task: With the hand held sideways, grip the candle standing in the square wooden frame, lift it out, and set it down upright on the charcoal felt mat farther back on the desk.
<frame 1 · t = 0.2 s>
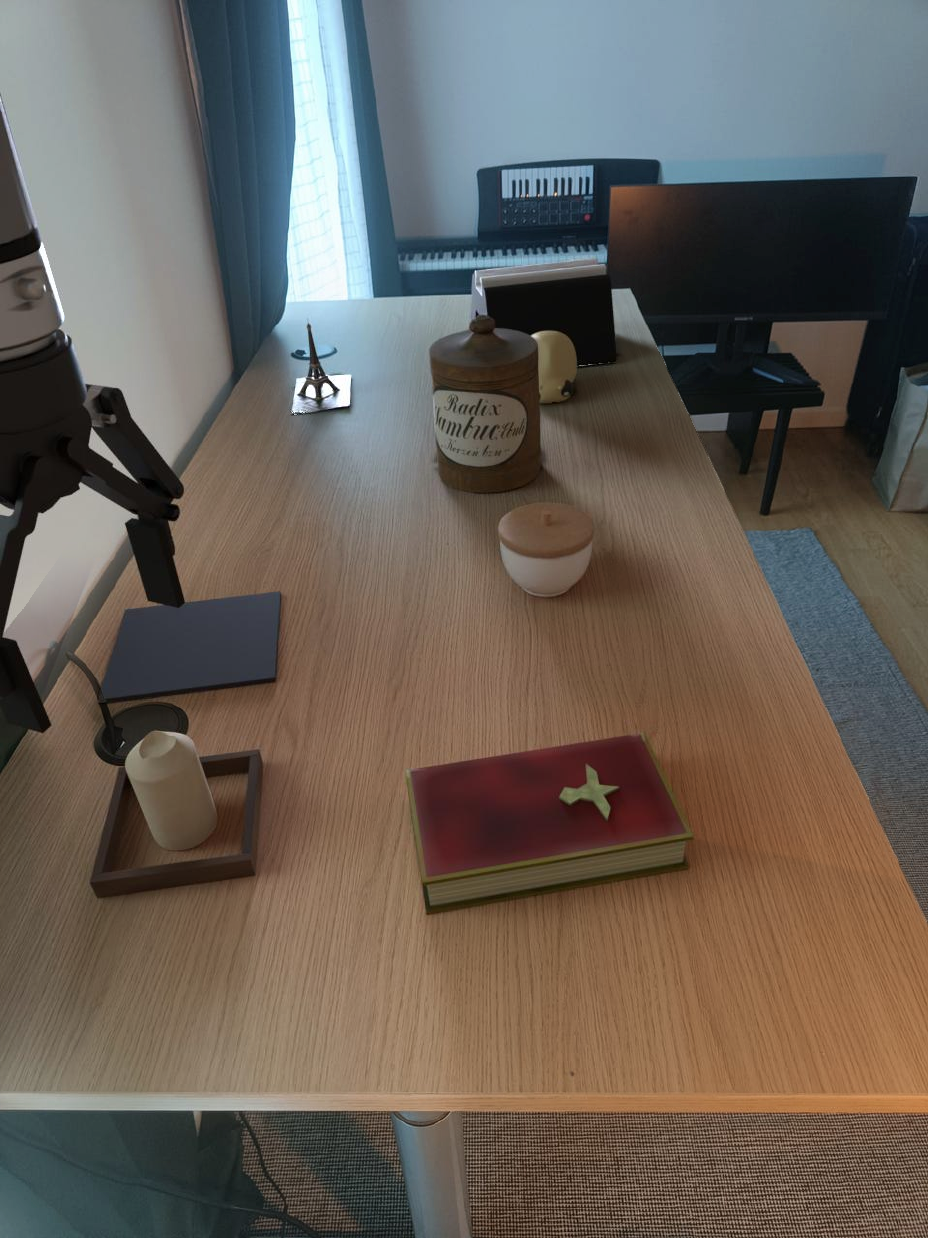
hand: (104, 658, 58), 22 cm above the table, tool pointing down, fingers open, 13 cm apart
device stand: (540, 351, 164), on the table
wooden container: (489, 470, 126), on the table
square wooden frame: (186, 826, 75), on the table
eiffel tower figurine: (322, 396, 152), on the table
felt mat: (196, 645, 96), on the table
hardcover book: (541, 833, 73), on the table
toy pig: (547, 395, 147), on the table
candle: (186, 827, 75), resting in square wooden frame
trinket box: (545, 583, 102), on the table
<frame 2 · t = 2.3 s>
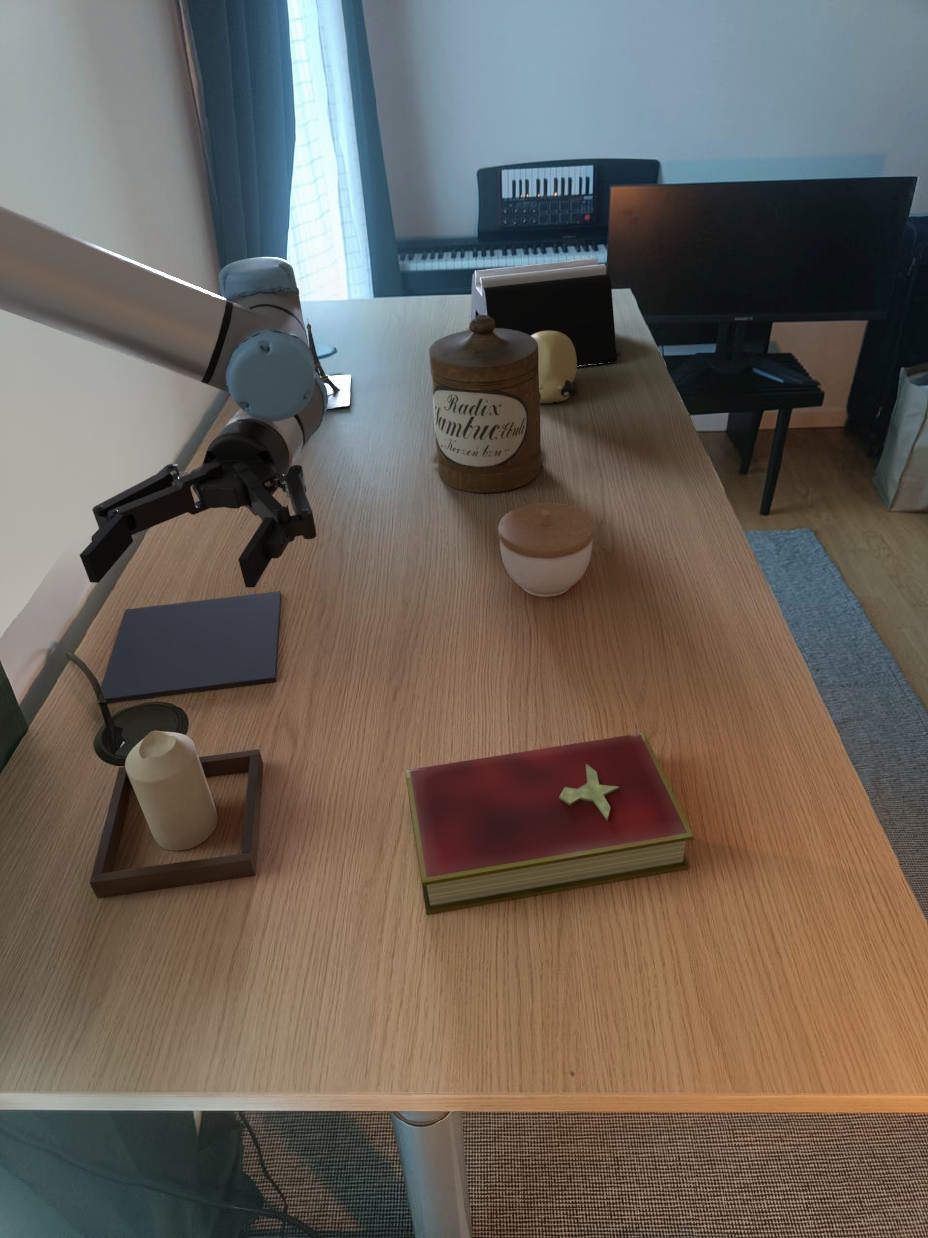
hand: (166, 571, 70), 20 cm above the table, tool horizontal, fingers open, 13 cm apart
nothing on the table moved.
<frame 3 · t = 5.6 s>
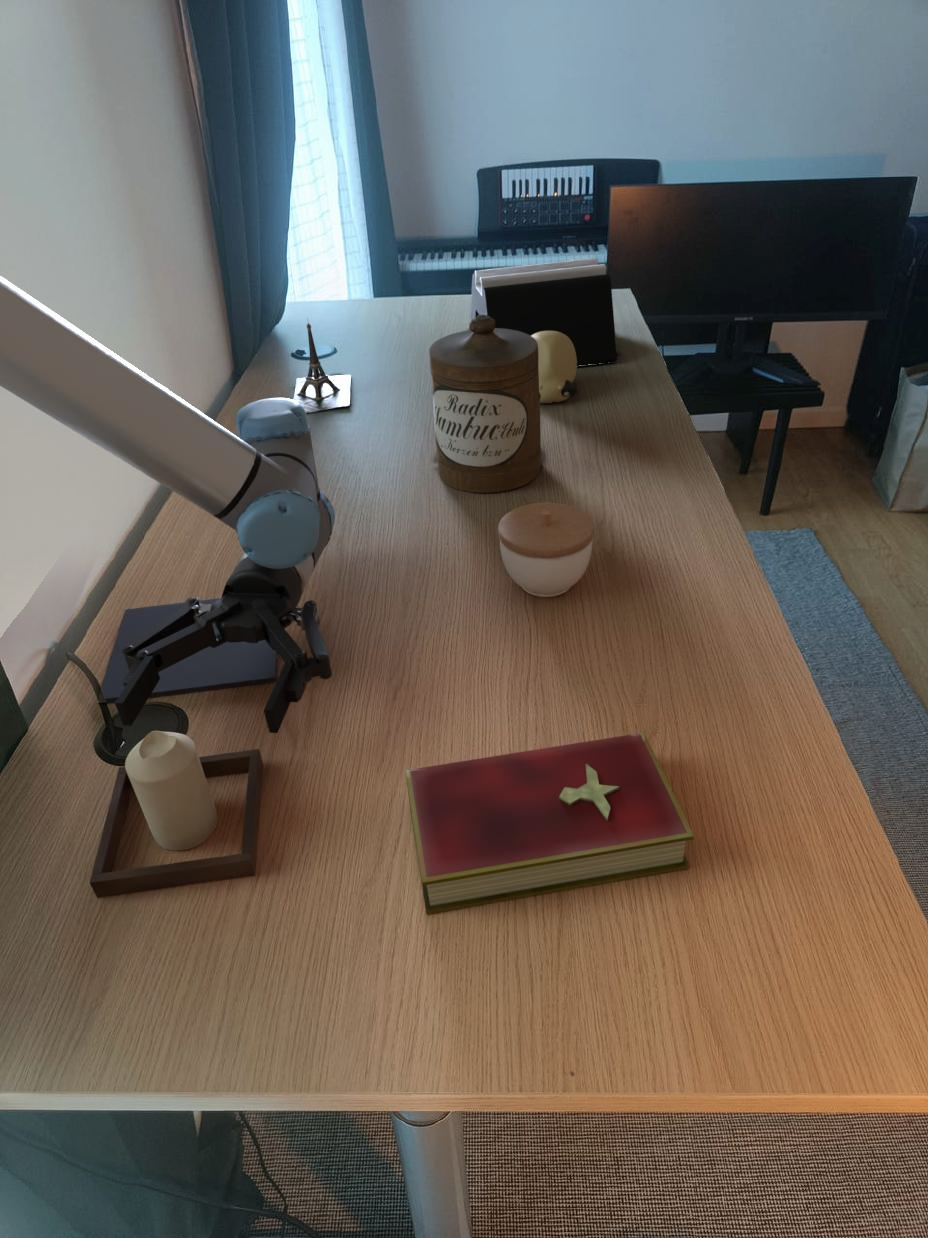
hand: (195, 718, 76), 7 cm above the table, tool horizontal, fingers open, 13 cm apart
nothing on the table moved.
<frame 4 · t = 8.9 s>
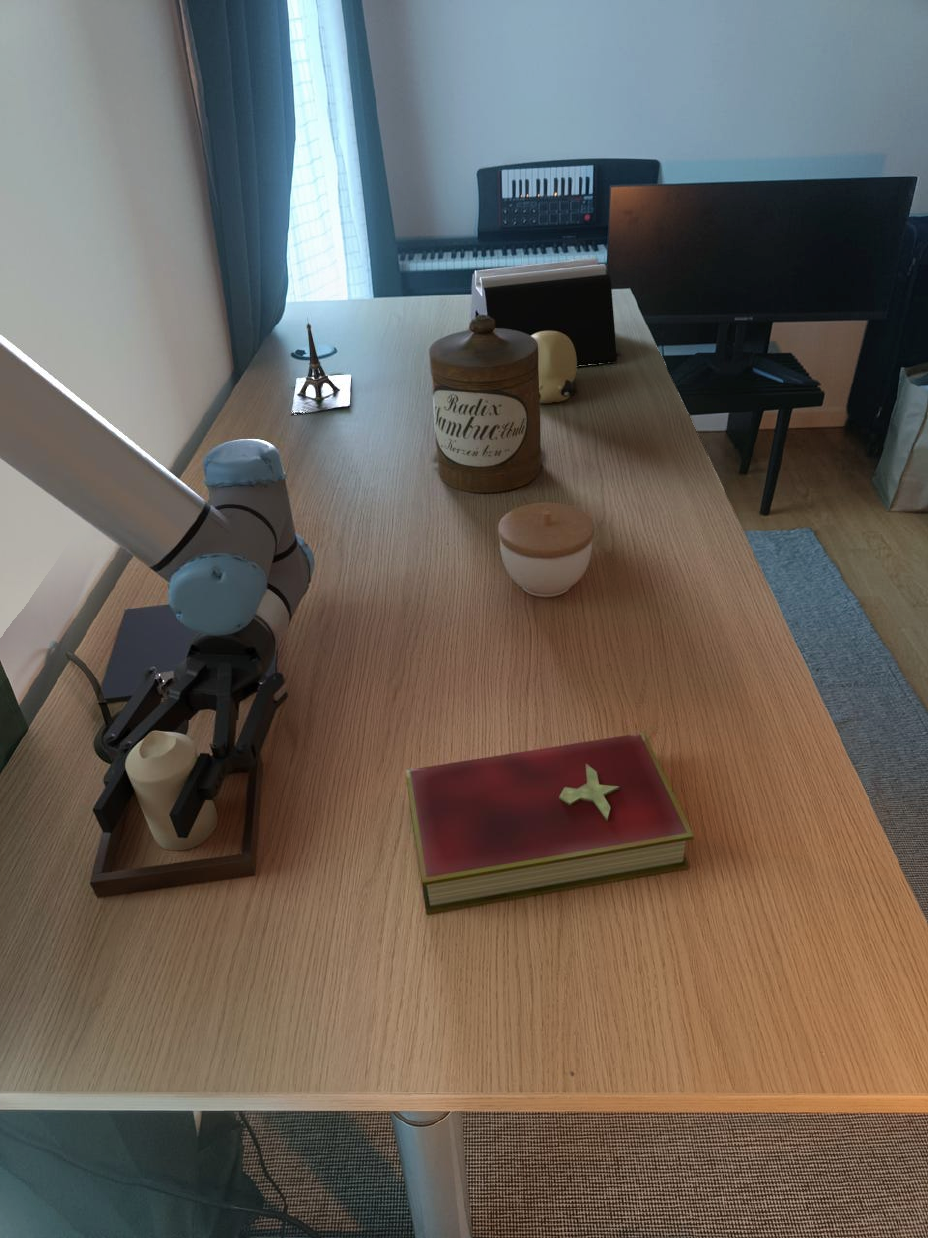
hand: (140, 823, 67), 6 cm above the table, tool horizontal, fingers closed on candle, 5 cm apart
candle: (186, 827, 75), resting in square wooden frame, touching gripper
everything else where it was.
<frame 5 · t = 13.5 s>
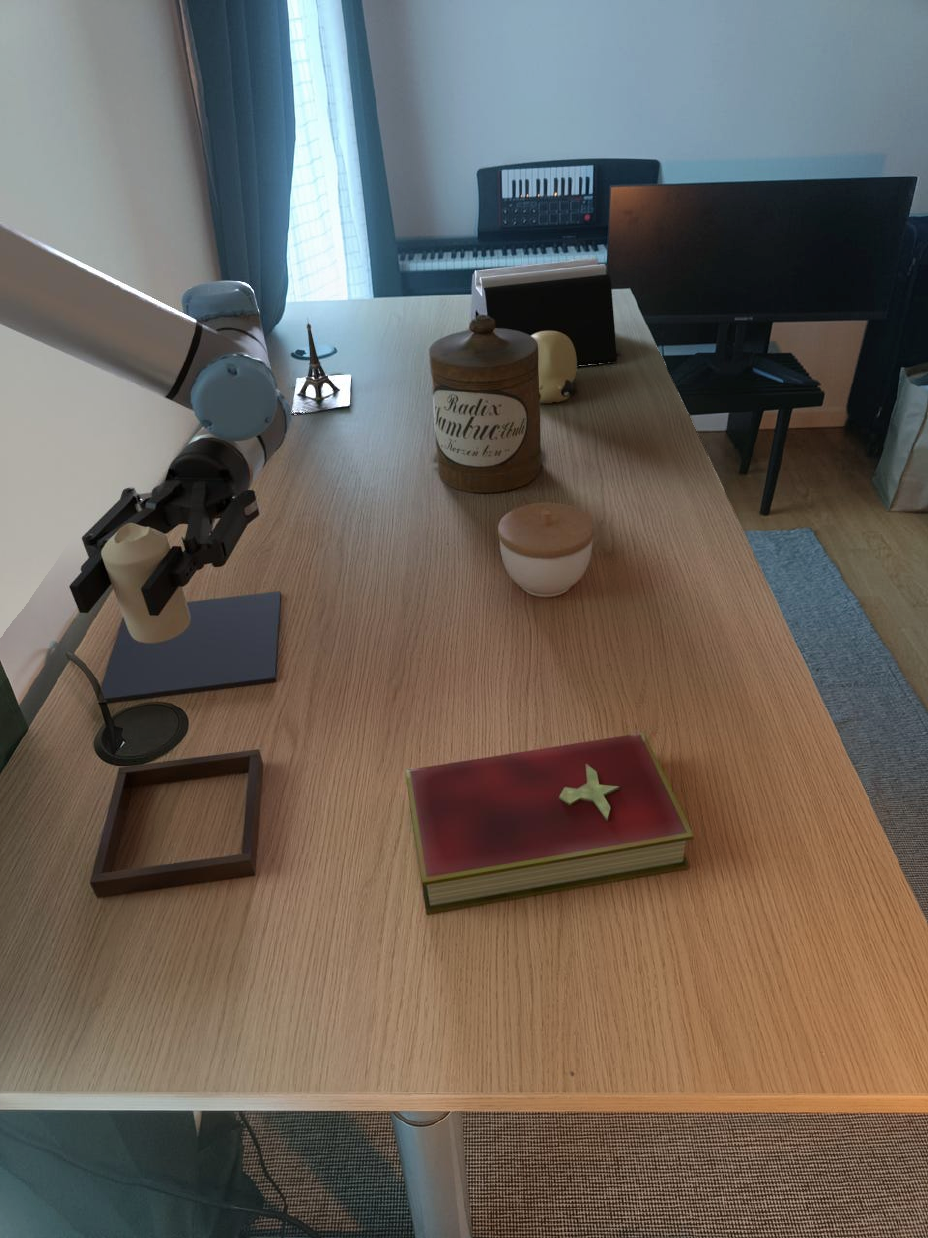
hand: (114, 600, 71), 18 cm above the table, tool horizontal, fingers closed on candle, 5 cm apart
candle: (161, 627, 79), point 11 cm above the table, touching gripper
everything else where it was.
when the fingers open (7 cm above the table, at t = 18.5 s): candle stays where it is, resting on felt mat.
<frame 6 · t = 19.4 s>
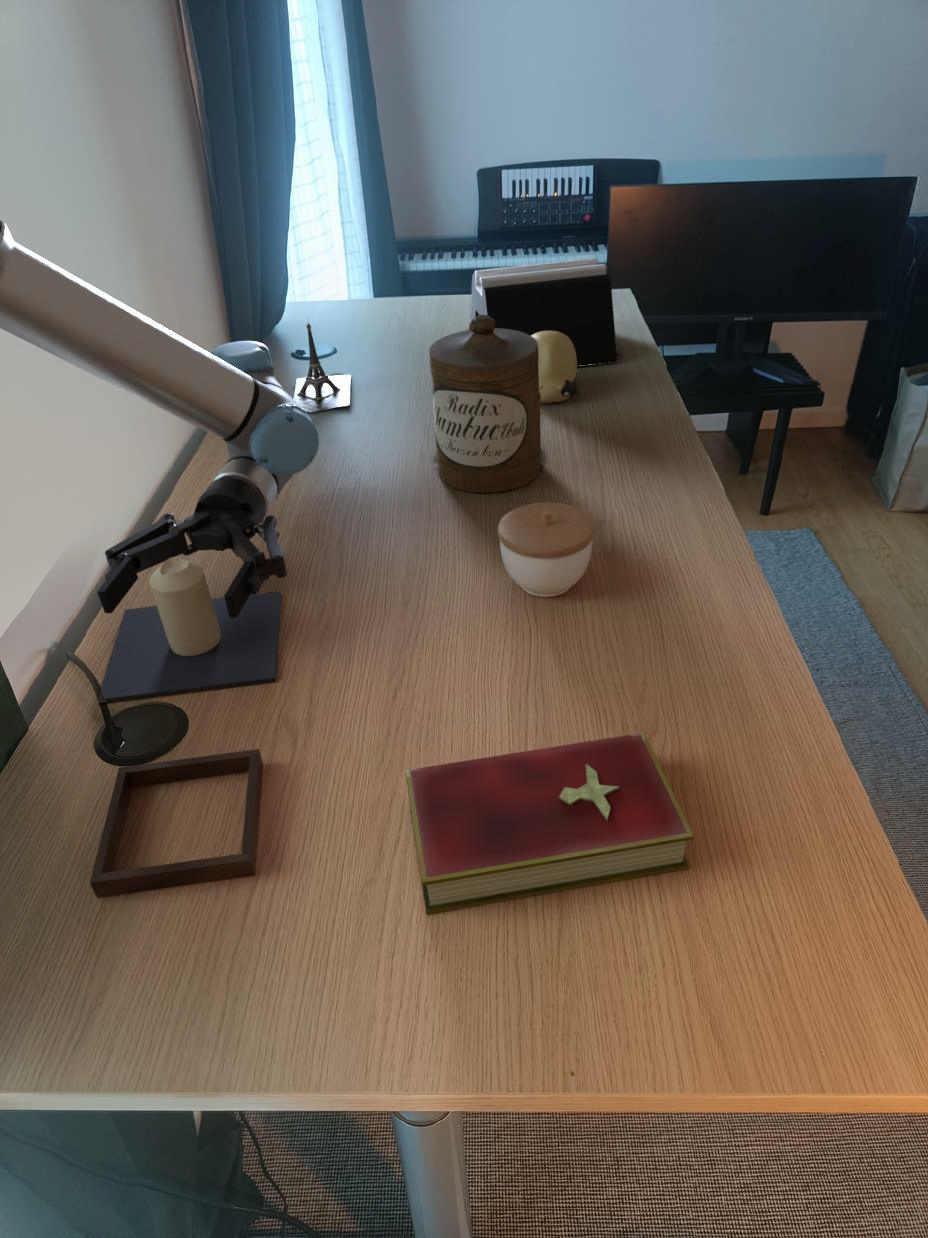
hand: (166, 605, 89), 8 cm above the table, tool horizontal, fingers open, 13 cm apart
candle: (196, 642, 96), resting on felt mat
everything else where it was.
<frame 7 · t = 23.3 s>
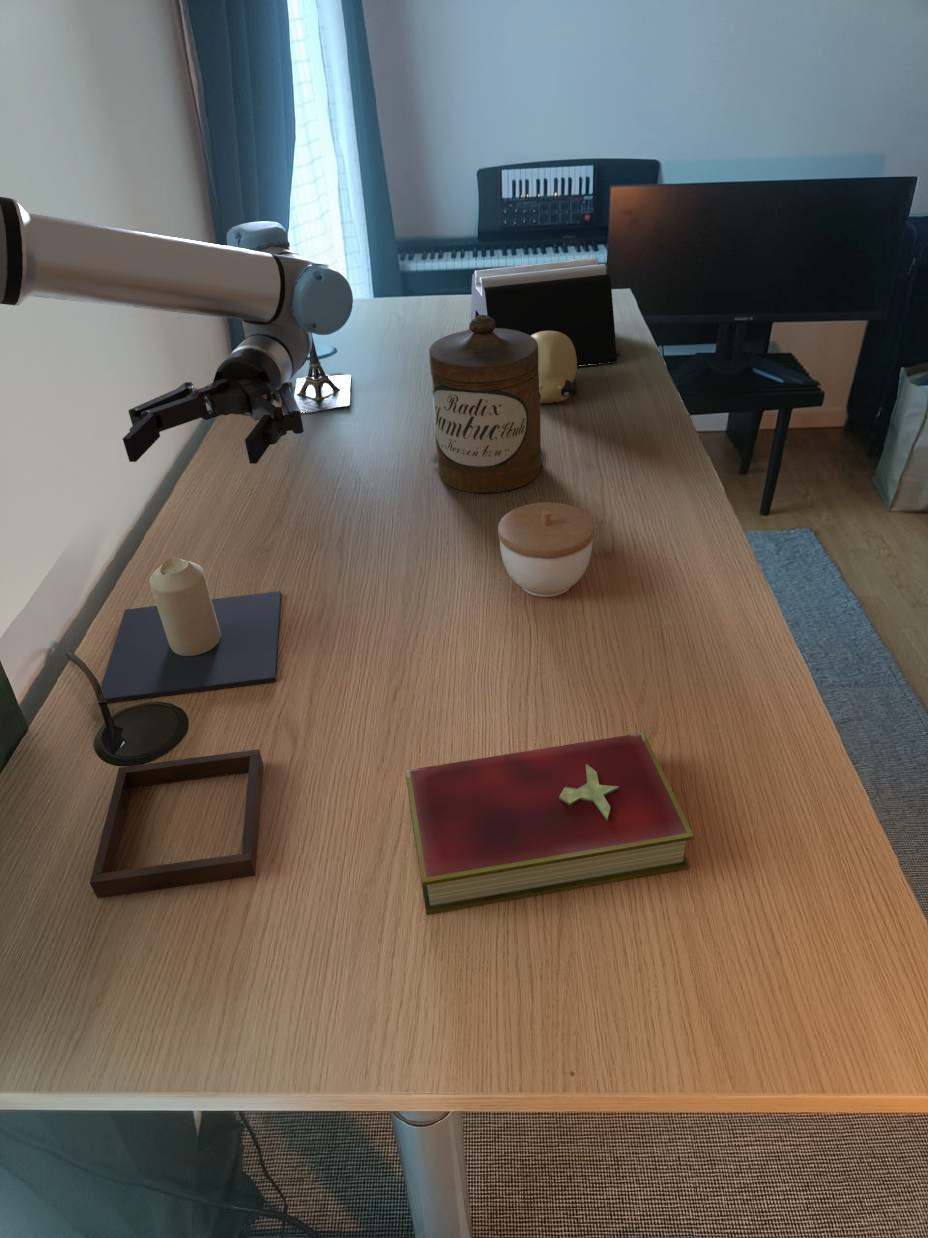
hand: (189, 451, 92), 19 cm above the table, tool horizontal, fingers open, 13 cm apart
nothing on the table moved.
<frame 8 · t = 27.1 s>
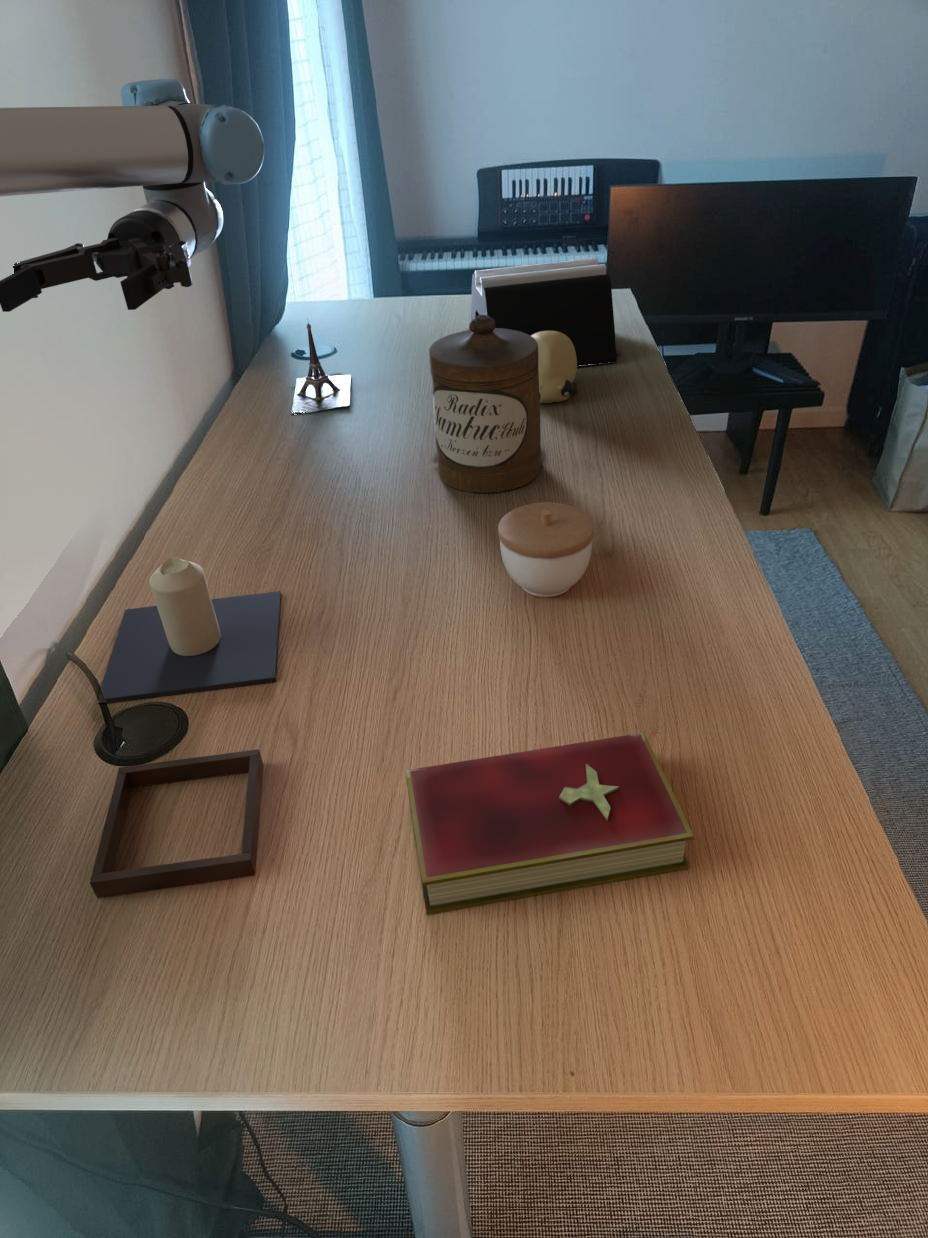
hand: (63, 297, 87), 34 cm above the table, tool horizontal, fingers open, 13 cm apart
nothing on the table moved.
at the end: candle inside the target area on the felt mat (0.0 cm from its centre), point 0.4 cm above the felt mat's base; candle tilted 0°; the gripper is holding nothing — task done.
